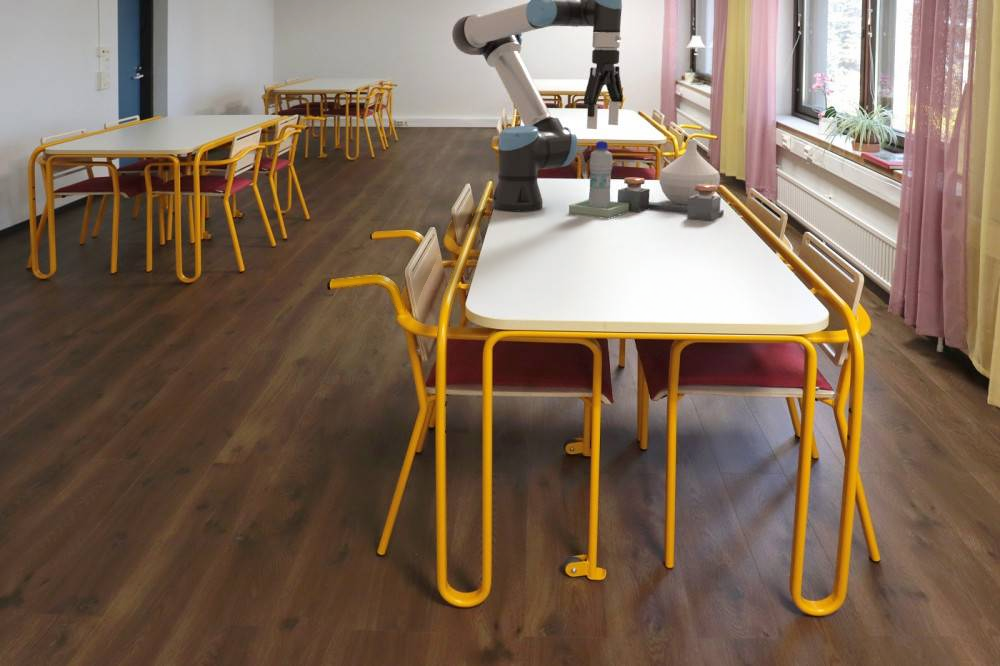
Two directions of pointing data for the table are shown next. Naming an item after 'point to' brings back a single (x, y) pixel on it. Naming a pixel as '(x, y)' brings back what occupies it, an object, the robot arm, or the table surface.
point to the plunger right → (705, 190)
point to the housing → (694, 210)
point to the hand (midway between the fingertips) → (602, 126)
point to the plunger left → (634, 183)
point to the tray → (598, 209)
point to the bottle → (600, 176)
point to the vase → (687, 175)
